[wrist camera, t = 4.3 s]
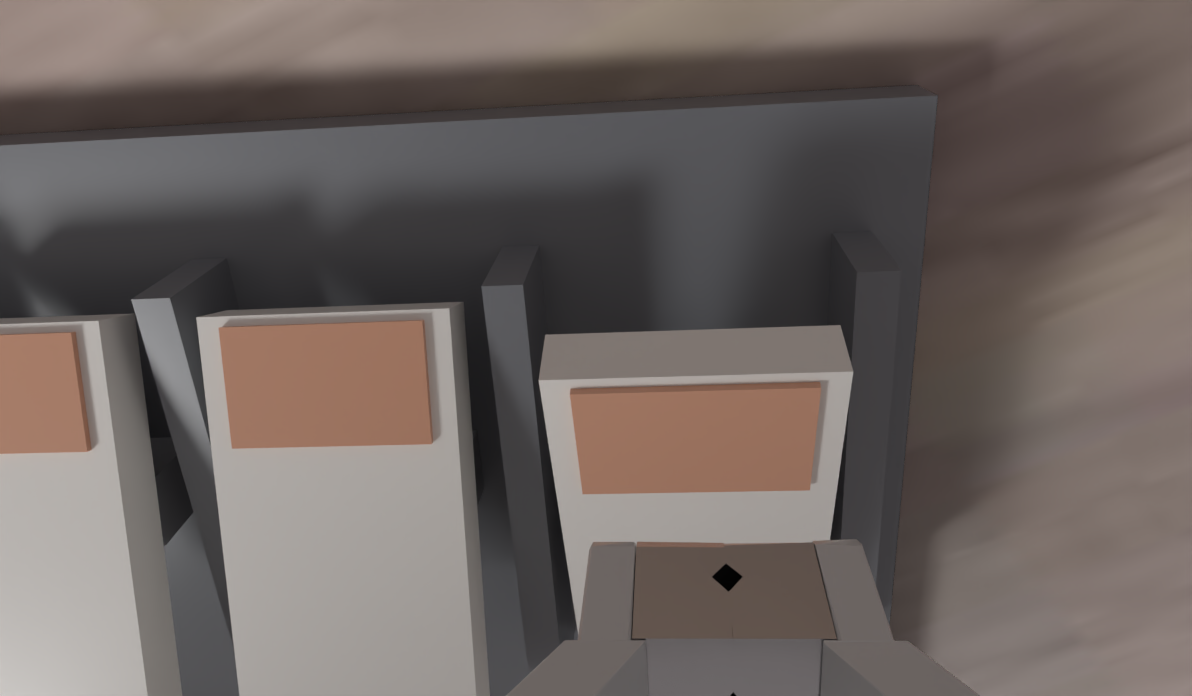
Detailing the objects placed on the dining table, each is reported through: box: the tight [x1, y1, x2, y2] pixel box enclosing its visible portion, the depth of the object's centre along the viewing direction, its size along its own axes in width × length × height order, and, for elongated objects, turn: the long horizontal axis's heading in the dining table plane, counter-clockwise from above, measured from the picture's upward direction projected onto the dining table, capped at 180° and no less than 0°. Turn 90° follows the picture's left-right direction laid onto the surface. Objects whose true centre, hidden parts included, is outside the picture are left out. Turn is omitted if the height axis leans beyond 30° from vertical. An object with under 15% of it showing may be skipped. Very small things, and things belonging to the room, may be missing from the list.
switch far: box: [0, 314, 182, 696], centre depth 19 cm, size 10×5×1 cm, turn 5°
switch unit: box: [0, 85, 938, 696], centre depth 23 cm, size 24×24×4 cm
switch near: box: [539, 325, 853, 634], centre depth 18 cm, size 10×5×1 cm, turn 3°
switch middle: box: [196, 302, 490, 696], centre depth 18 cm, size 10×5×1 cm, turn 5°
